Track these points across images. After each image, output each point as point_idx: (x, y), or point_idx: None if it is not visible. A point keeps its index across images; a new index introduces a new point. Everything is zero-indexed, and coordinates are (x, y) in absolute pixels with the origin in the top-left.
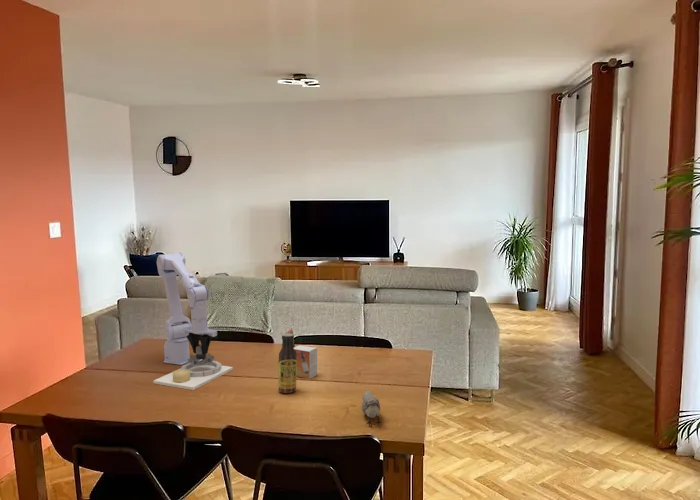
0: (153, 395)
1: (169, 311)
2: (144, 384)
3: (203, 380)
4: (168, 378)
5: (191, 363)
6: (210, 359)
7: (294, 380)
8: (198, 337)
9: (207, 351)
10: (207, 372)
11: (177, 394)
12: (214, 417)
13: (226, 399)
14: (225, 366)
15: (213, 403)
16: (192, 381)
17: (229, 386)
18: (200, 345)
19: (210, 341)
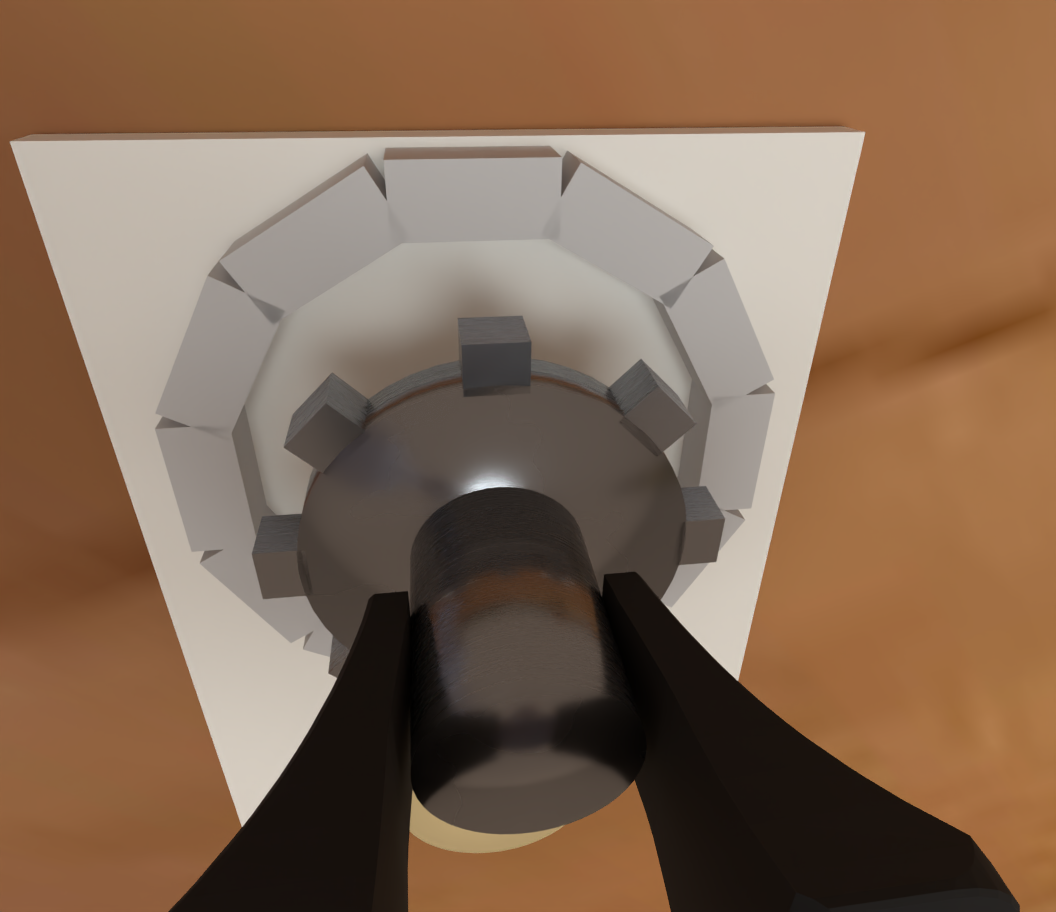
0: (476, 895)
1: None
2: (194, 838)
3: (716, 647)
4: None
5: (223, 433)
6: (716, 558)
7: None
8: (382, 893)
9: (650, 596)
10: (695, 571)
11: (635, 827)
12: (1030, 884)
13: (1035, 742)
14: (733, 157)
15: (964, 805)
16: None
17: (986, 581)
18: (545, 771)
19: (813, 744)
